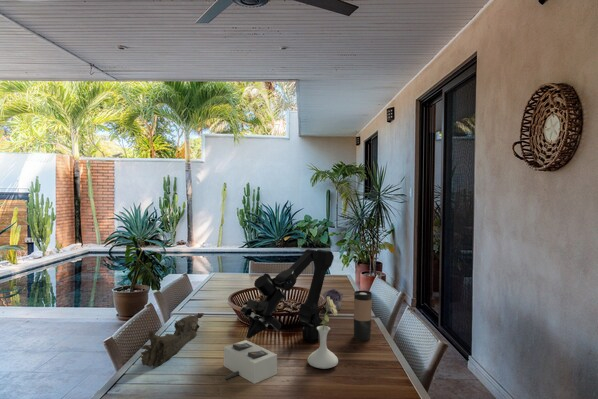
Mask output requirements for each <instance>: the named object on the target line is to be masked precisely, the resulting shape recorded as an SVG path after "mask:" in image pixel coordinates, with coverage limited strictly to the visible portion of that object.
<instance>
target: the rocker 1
mask: <svg viewBox="0 0 598 399" xmlns="http://www.w3.org/2000/svg"><path fill="white" fill-rule="evenodd" d="M232 344H233V348H235V349H237V350H244V349H247V348H250V347H251V346H249V345H247V344H235V343H232Z"/></svg>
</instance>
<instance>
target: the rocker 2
mask: <svg viewBox="0 0 598 399" xmlns="http://www.w3.org/2000/svg"><path fill="white" fill-rule="evenodd" d="M265 355H268V354H266V353H264V352H262V351H256V352H248V356H250V357H252V358H260V357H262V356H265Z"/></svg>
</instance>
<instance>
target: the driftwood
mask: <svg viewBox="0 0 598 399" xmlns="http://www.w3.org/2000/svg"><path fill="white" fill-rule="evenodd" d="M204 314H205V313H203V312H198V313H197V314H195V315H194V314H193V315H191V314H190V315H187V316H184V317H182V318H180V319H179V320H177V321H175V323H174V325H173V326H174V329H175V330H174V333H173V334H172V333H166V334H164V335H163V336H159V335H157V334H155V333H154V332H153V331H152V330H148V339H149V341H150V344H144V345H142V346H140V349H142V350H145V351H141V352H140V354H141V359H140V360H141V365H142V366H147V367H148V368H149V367H153V368H156V367H158V366H161V365H163V364H164V363H165V362H167V361H168V360H170V359H172V357H174V356H175V355H177V354H178V353H179V352H180V351H181V350H182V348H184V347H185V345H186V344H187V343H189V342H190V341H192V340H193V339H195V338H196V337H197V335H198V334H197V332H198V330H199V328H200V325H199V321H200V319H201V318H203V316H205V315H204Z"/></svg>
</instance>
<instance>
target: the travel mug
mask: <svg viewBox="0 0 598 399" xmlns="http://www.w3.org/2000/svg"><path fill="white" fill-rule="evenodd" d="M353 294H354V295H353V296H354V298H353V301H354V302H353V338H354V340H357V341H362V342H365V341H369V340H371V332H372V329H371V328H372V304H373V303H372V298H373V297H372V291H368V290H356V291H354V293H353Z"/></svg>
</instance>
